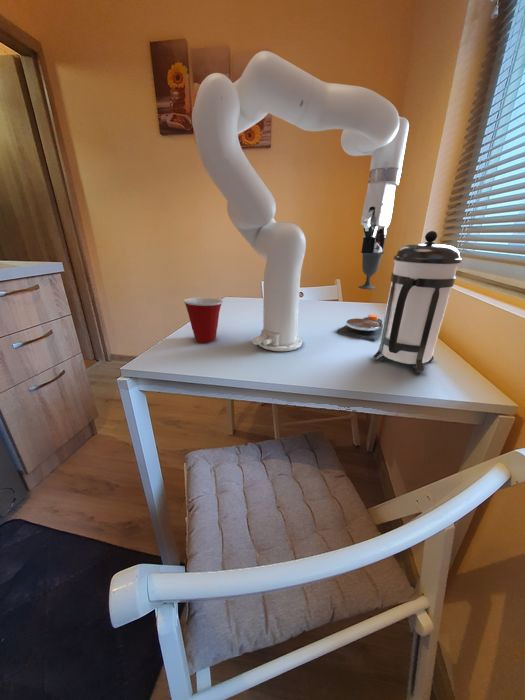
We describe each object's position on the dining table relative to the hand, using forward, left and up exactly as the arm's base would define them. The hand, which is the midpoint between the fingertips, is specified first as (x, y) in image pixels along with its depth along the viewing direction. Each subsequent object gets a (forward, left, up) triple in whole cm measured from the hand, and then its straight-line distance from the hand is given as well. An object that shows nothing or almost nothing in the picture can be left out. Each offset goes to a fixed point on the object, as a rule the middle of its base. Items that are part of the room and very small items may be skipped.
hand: (372, 252), depth 79 cm
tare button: (+10, 0, -22) cm, 24 cm away
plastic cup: (-36, +32, -25) cm, 54 cm away
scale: (+4, 0, -25) cm, 25 cm away
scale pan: (+1, 0, -22) cm, 22 cm away
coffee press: (-14, -17, -25) cm, 33 cm away
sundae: (0, 0, -10) cm, 10 cm away
